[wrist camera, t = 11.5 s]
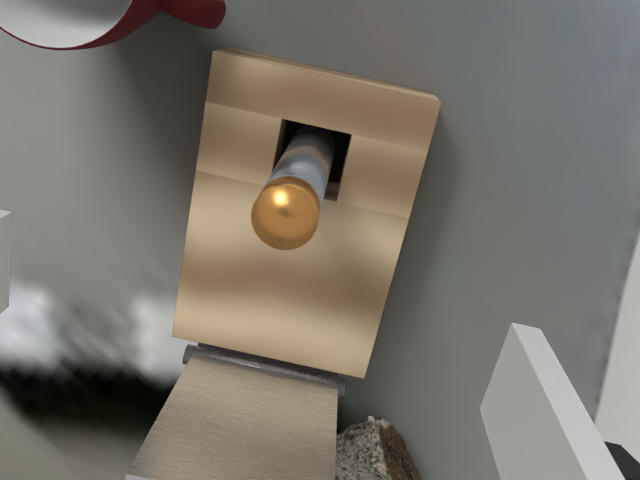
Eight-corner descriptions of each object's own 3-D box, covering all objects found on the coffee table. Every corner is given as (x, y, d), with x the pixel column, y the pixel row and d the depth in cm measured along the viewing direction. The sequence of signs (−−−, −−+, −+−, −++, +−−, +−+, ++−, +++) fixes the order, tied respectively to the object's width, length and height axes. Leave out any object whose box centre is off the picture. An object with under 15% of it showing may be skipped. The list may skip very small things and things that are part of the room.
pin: (296, 120, 36) (256, 179, 23) (339, 129, 36) (324, 194, 23) (288, 162, 37) (245, 242, 24) (330, 171, 37) (310, 256, 24)
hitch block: (228, 46, 35) (212, 50, 31) (433, 93, 35) (441, 102, 31) (166, 454, 45) (149, 494, 42) (324, 488, 46) (321, 531, 42)
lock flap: (189, 341, 38) (115, 467, 26) (346, 375, 38) (346, 517, 26) (186, 358, 38) (111, 491, 26) (342, 392, 38) (339, 540, 26)
